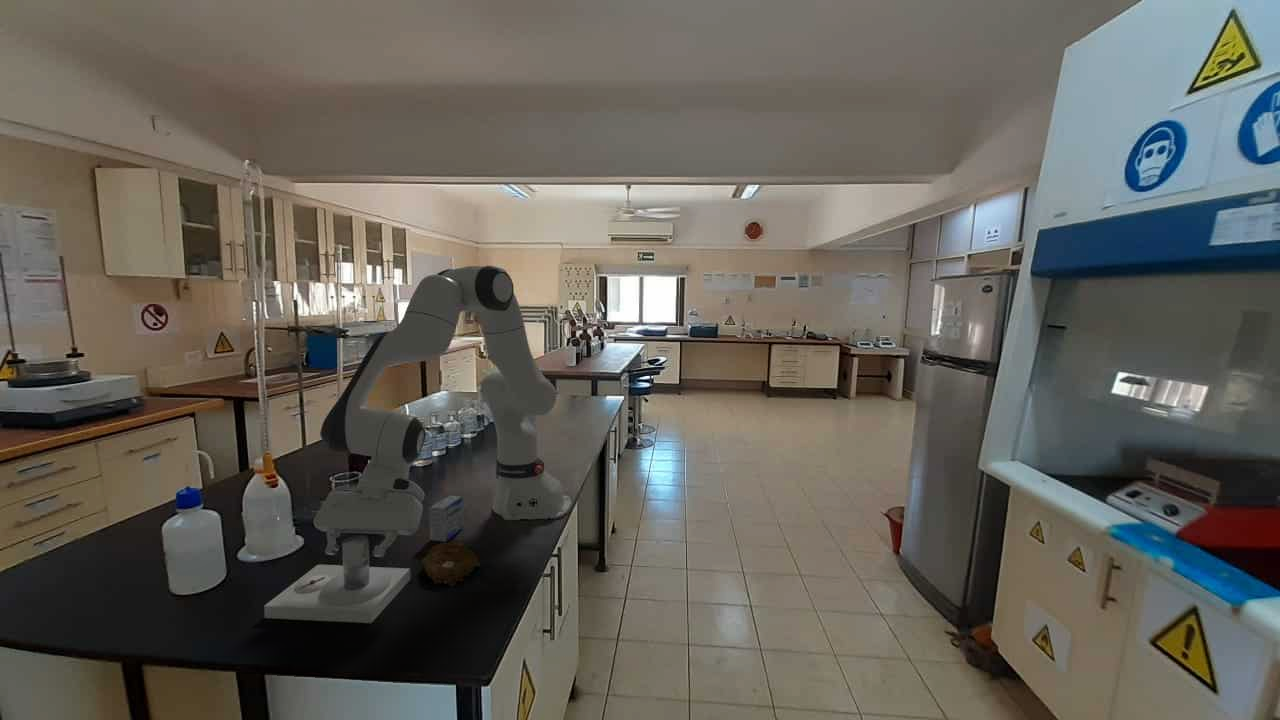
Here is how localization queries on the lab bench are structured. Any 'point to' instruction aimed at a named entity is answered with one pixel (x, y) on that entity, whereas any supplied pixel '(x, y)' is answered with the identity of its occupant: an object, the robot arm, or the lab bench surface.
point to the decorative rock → (449, 562)
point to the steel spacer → (355, 562)
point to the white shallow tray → (337, 595)
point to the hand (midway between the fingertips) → (353, 555)
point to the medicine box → (446, 518)
